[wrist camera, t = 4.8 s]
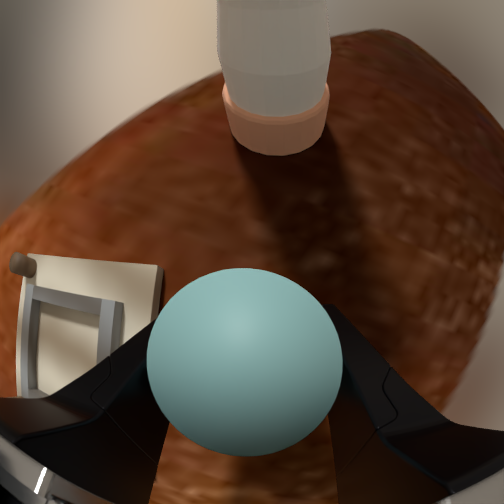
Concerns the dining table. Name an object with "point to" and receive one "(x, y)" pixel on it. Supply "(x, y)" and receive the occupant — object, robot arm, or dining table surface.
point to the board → (76, 316)
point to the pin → (244, 362)
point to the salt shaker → (274, 72)
